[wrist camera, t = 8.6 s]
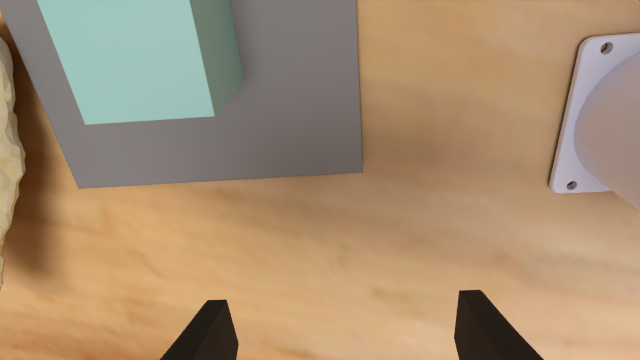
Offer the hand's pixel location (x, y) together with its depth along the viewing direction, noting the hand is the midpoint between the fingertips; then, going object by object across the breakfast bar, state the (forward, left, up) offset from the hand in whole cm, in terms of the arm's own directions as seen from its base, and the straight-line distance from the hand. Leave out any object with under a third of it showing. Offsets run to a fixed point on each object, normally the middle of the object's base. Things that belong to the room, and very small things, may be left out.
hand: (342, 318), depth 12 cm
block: (+7, -8, -10) cm, 14 cm away
